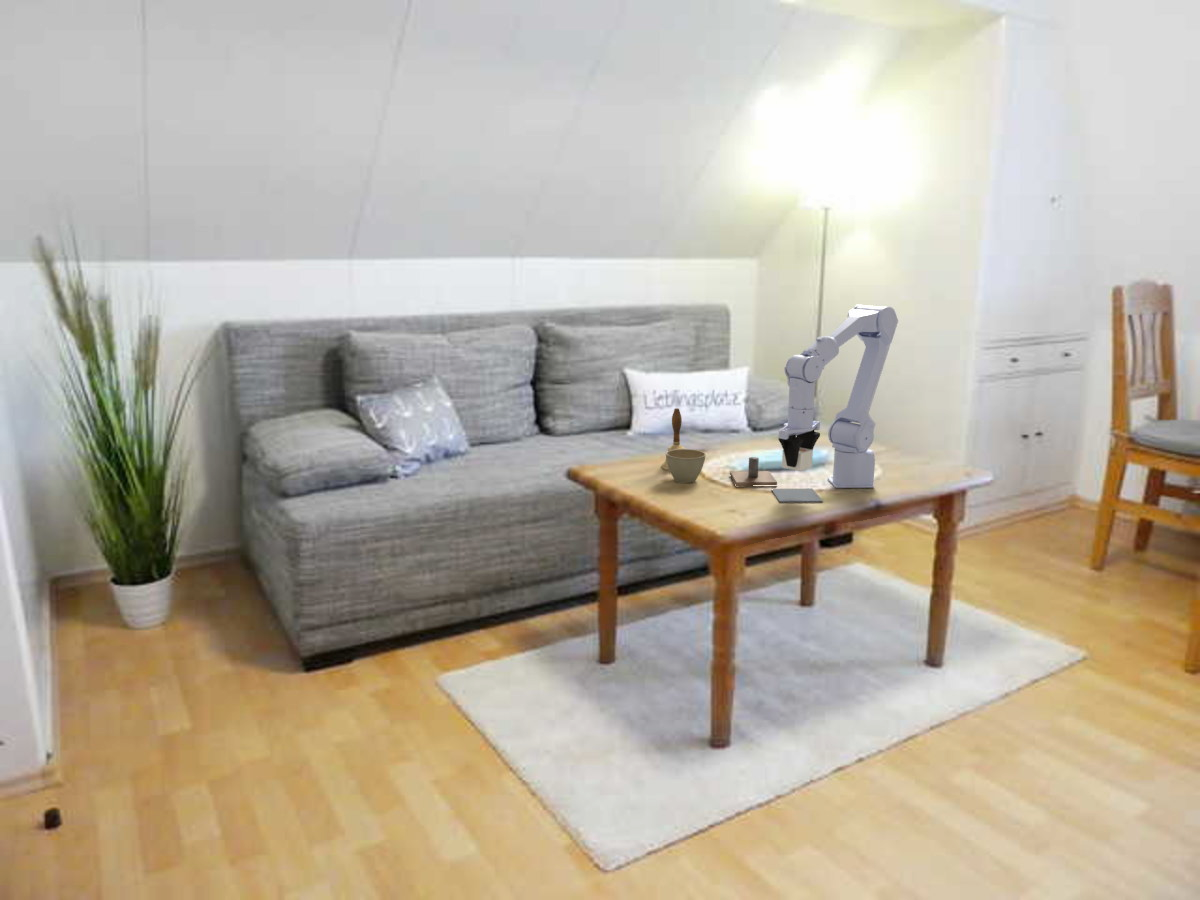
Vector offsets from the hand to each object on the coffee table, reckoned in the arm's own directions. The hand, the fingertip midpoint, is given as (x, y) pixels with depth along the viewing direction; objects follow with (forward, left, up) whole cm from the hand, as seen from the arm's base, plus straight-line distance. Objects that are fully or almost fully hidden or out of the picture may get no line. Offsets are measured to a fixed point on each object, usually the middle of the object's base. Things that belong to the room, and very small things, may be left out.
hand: (797, 464), depth 201 cm
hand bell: (+26, -27, -8) cm, 38 cm away
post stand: (+8, -13, -8) cm, 17 cm away
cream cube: (0, 0, -1) cm, 1 cm away
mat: (0, 0, -8) cm, 8 cm away
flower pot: (+25, -14, -8) cm, 30 cm away
